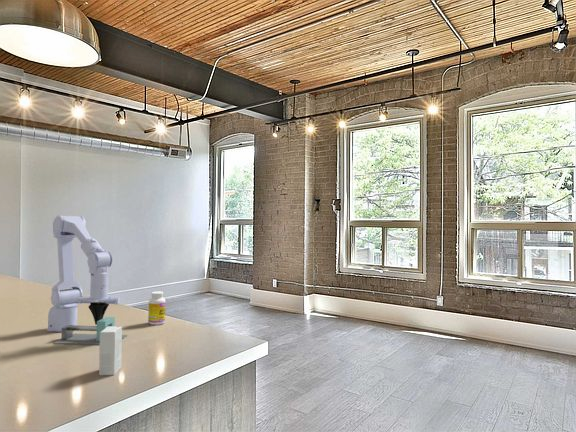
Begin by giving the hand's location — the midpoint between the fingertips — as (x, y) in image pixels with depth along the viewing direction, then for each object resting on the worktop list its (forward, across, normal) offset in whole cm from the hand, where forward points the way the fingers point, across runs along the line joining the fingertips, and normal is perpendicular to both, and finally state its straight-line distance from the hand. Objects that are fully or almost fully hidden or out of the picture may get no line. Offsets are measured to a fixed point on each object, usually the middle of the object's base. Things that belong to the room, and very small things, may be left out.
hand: (98, 324), depth 139 cm
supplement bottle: (+6, +12, +24) cm, 28 cm away
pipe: (+6, -2, 0) cm, 6 cm away
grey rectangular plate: (+6, -2, 0) cm, 6 cm away
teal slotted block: (+6, +3, 0) cm, 6 cm away
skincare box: (+6, +18, -28) cm, 34 cm away
